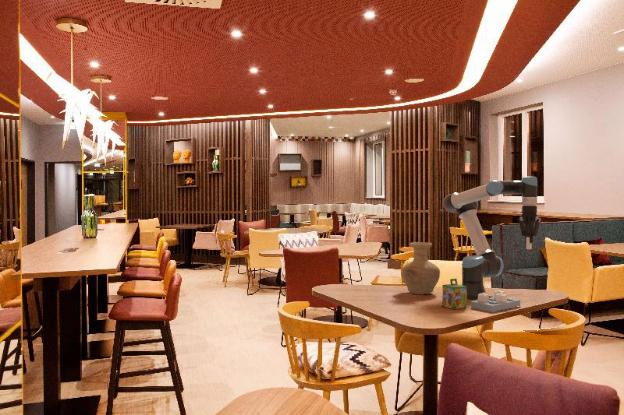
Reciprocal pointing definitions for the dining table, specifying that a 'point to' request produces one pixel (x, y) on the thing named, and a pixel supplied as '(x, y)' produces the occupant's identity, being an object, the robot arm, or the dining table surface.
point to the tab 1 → (483, 298)
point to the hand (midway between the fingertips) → (529, 249)
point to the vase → (420, 271)
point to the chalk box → (454, 295)
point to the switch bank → (495, 305)
